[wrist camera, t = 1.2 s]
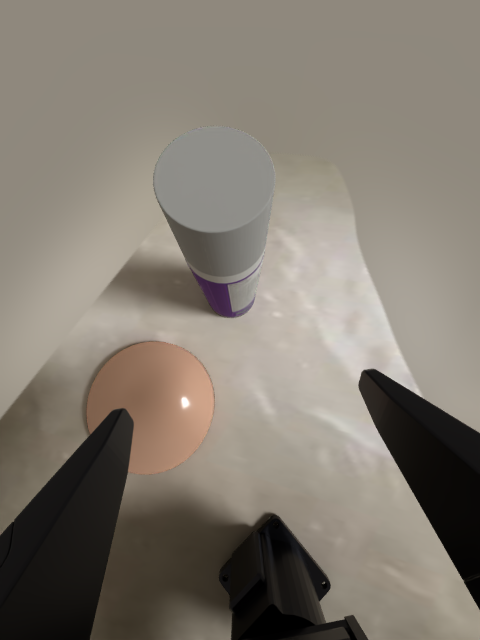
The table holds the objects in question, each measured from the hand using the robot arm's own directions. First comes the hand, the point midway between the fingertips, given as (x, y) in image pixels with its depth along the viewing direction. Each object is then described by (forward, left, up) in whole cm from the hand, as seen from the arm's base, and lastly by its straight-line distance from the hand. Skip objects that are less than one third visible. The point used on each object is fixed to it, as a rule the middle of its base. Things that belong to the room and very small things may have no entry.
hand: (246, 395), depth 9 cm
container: (+7, -4, -13) cm, 15 cm away
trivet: (+4, +8, -13) cm, 16 cm away
